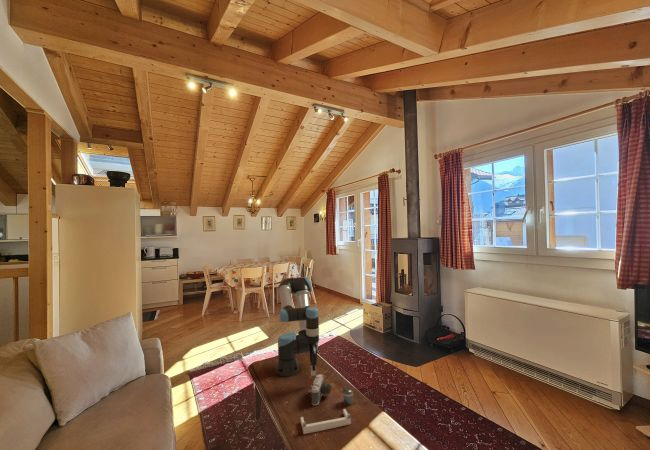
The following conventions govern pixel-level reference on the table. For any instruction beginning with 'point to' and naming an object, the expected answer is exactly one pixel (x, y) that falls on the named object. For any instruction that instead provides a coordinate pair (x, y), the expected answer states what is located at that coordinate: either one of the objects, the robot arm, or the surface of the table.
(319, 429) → the bracket
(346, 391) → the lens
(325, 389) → the camera
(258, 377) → the table surface
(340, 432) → the table surface
